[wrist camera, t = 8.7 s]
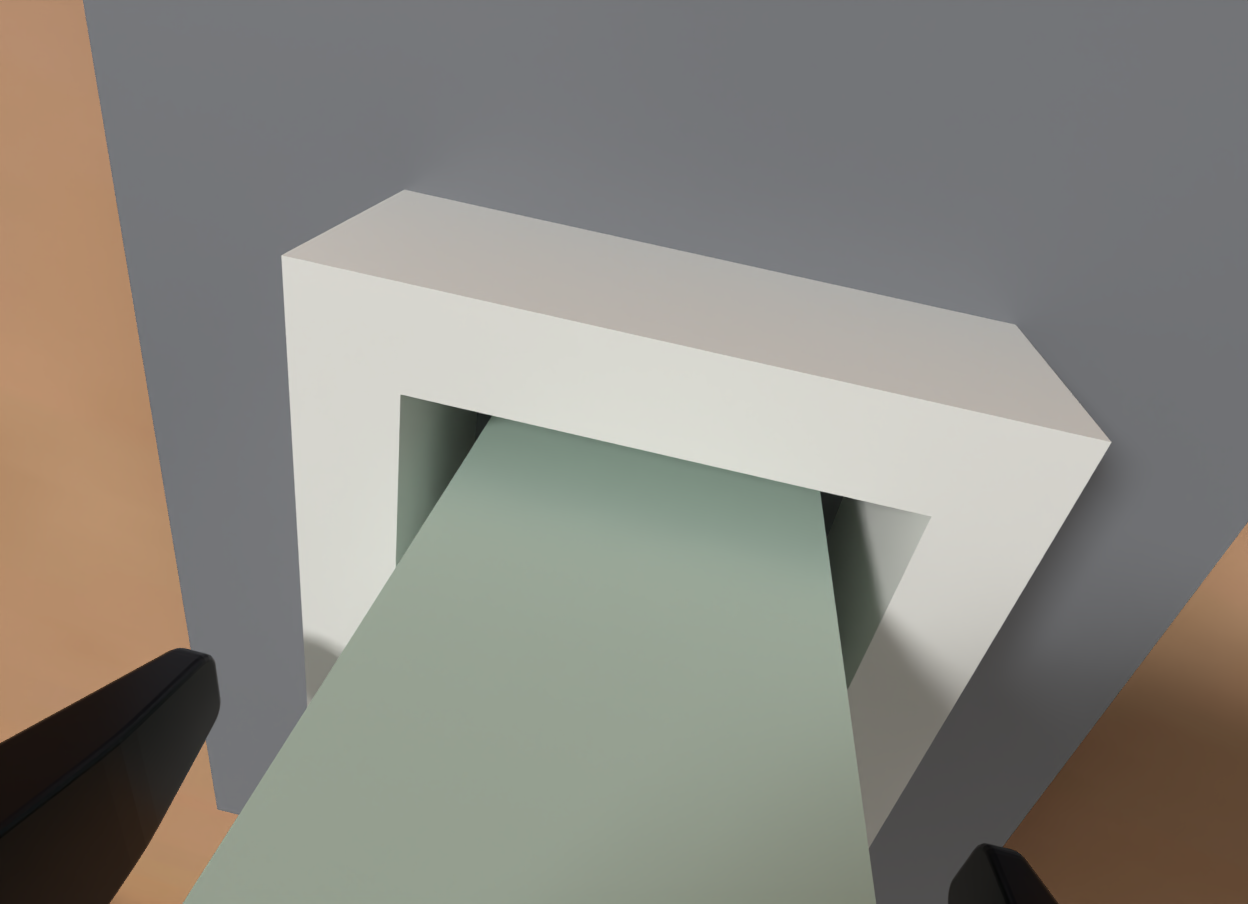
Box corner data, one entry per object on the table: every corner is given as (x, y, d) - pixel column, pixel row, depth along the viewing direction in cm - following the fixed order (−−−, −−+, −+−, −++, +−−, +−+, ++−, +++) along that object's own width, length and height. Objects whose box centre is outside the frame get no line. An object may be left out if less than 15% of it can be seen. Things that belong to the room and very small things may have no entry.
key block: (810, 419, 11) (962, 1513, 3) (709, 708, 14) (653, 1603, 6) (529, 356, 11) (-30, 1240, 3) (492, 655, 14) (169, 1467, 6)
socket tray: (896, 952, 18) (927, 1152, 15) (232, 786, 18) (126, 945, 15) (1650, -93, 7) (2301, -165, 4) (59, -408, 8) (-387, -671, 5)
